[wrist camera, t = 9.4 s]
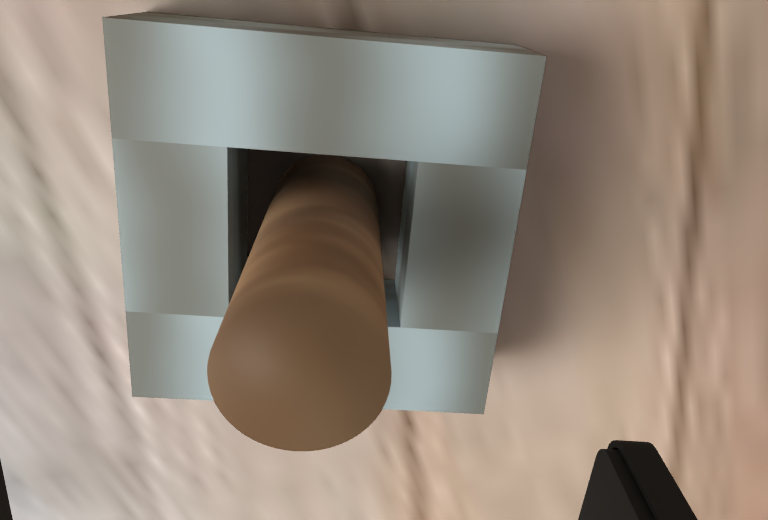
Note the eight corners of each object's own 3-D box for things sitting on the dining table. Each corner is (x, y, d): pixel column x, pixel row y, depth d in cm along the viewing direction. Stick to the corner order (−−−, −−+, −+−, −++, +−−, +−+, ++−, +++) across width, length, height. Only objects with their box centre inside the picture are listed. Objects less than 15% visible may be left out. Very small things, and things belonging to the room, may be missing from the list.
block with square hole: (516, 45, 23) (546, 56, 19) (467, 357, 28) (483, 414, 24) (145, 12, 22) (102, 17, 18) (163, 340, 27) (132, 396, 23)
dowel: (381, 159, 24) (399, 300, 13) (373, 256, 26) (383, 455, 15) (275, 150, 24) (205, 289, 13) (273, 249, 26) (209, 447, 15)
